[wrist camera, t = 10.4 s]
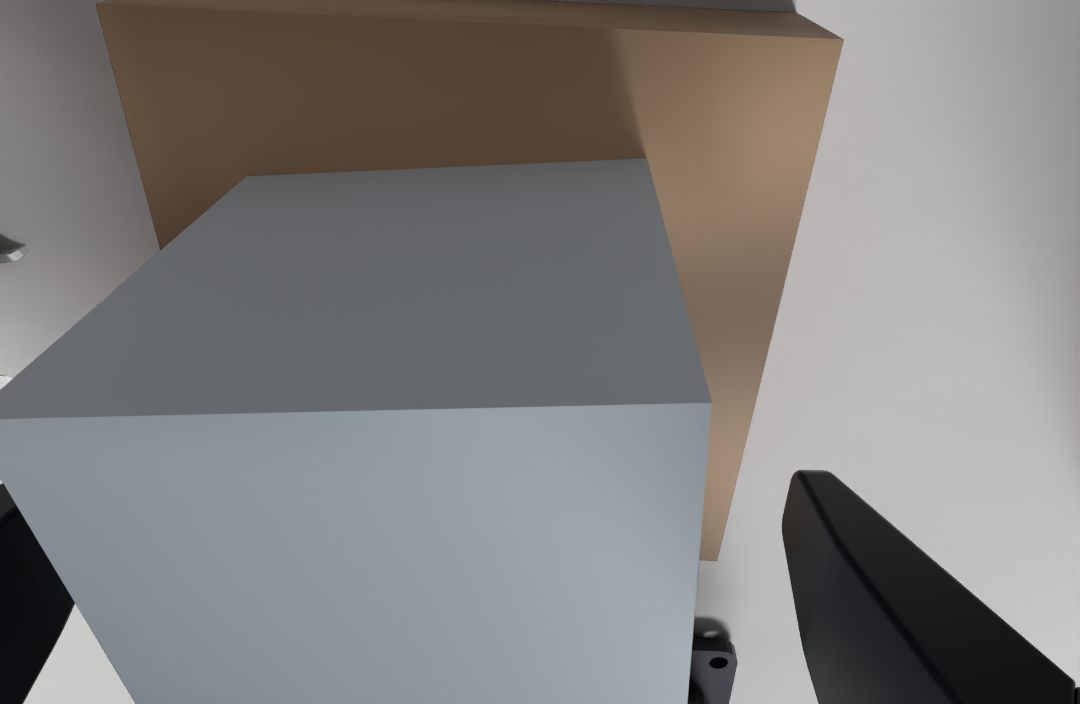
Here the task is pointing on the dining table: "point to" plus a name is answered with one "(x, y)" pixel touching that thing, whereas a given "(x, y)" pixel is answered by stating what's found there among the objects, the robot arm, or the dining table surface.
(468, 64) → the walnut block
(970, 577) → the dining table surface
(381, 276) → the grey cube
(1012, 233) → the dining table surface
